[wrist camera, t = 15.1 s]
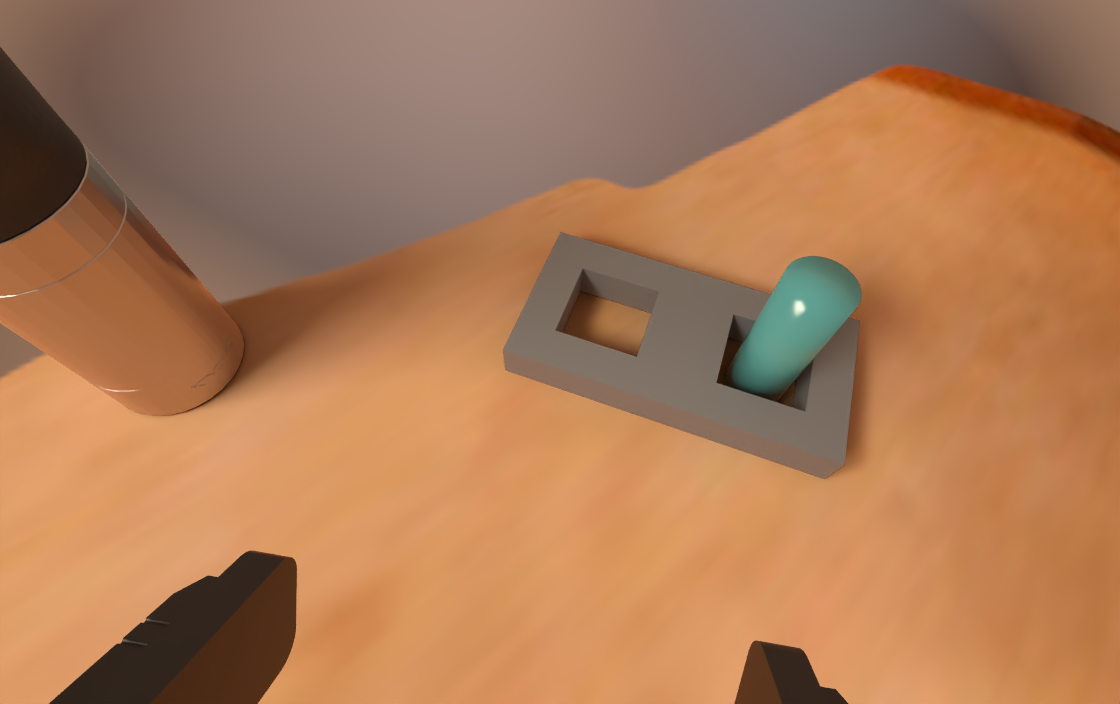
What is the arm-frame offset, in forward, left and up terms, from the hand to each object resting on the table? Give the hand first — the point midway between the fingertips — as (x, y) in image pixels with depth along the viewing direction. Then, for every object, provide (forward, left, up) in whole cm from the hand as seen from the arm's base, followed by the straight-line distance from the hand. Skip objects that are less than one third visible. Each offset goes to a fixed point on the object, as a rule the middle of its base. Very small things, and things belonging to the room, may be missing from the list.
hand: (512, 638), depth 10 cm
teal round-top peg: (+9, +23, -26) cm, 36 cm away
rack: (+3, +24, -26) cm, 36 cm away
